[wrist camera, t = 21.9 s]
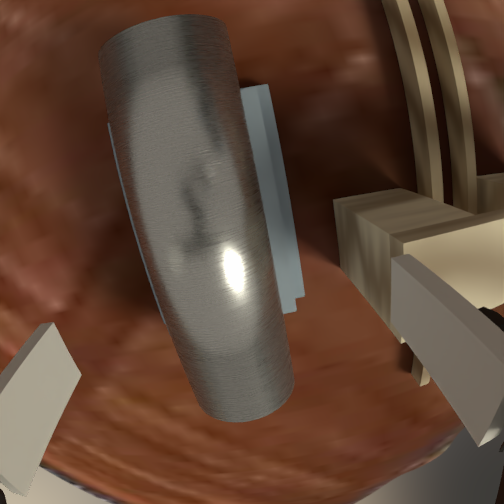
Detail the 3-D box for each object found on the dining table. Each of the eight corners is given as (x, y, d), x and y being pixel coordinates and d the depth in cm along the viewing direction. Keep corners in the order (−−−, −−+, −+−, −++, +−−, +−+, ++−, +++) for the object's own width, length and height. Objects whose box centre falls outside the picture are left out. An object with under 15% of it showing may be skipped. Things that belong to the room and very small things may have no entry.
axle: (120, 73, 15) (77, 46, 9) (225, 46, 15) (228, 3, 9) (198, 364, 21) (194, 429, 15) (284, 346, 21) (304, 409, 16)
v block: (112, 124, 18) (91, 121, 15) (265, 86, 18) (273, 75, 15) (166, 316, 23) (158, 343, 20) (301, 289, 23) (313, 314, 20)
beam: (289, -10, 16) (327, -90, 7) (482, 11, 16) (556, -10, 7) (347, 394, 27) (381, 474, 18) (493, 338, 27) (543, 387, 18)
